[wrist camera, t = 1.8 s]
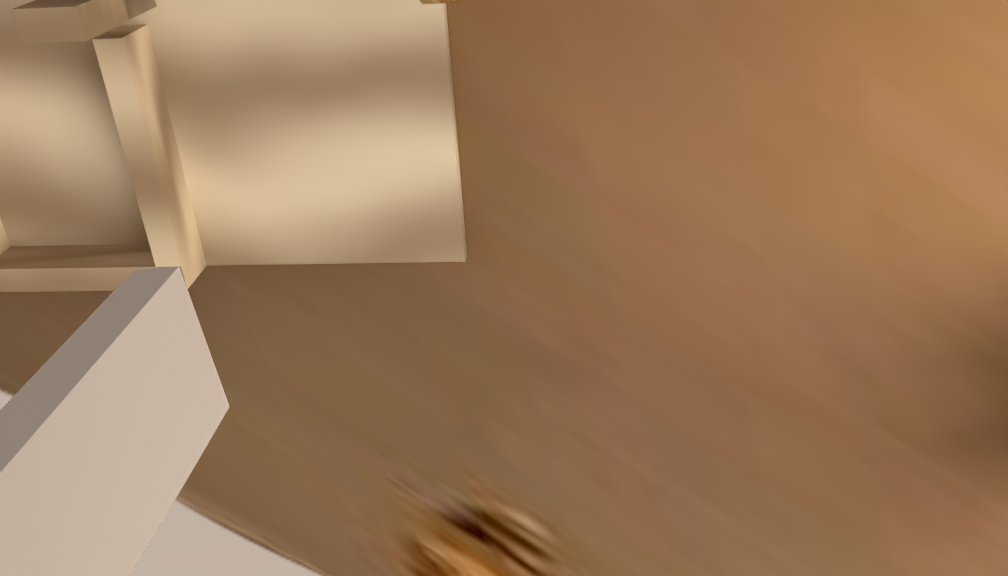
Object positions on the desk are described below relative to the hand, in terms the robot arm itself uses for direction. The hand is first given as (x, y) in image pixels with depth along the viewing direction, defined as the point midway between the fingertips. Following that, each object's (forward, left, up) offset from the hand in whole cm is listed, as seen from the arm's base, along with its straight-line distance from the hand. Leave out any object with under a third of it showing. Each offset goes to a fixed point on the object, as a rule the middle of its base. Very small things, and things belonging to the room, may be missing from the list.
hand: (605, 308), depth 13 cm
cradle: (+1, -15, -19) cm, 25 cm away
